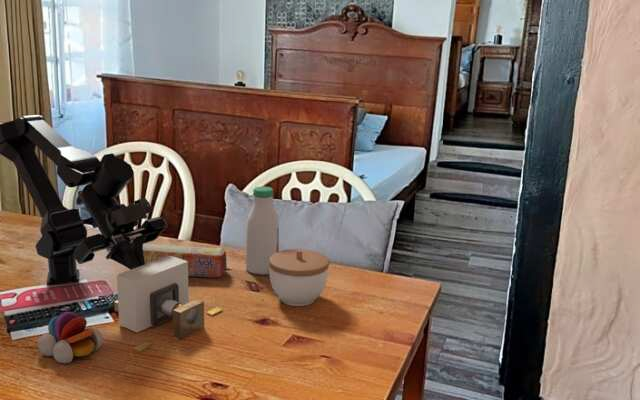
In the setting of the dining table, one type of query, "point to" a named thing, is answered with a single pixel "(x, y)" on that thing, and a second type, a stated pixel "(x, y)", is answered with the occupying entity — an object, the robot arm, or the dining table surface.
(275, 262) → the lidded bowl
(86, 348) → the rainbow petal fan
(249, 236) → the milk bottle
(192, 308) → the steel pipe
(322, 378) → the dining table surface
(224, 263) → the snack package
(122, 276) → the sleeve
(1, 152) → the robot arm
